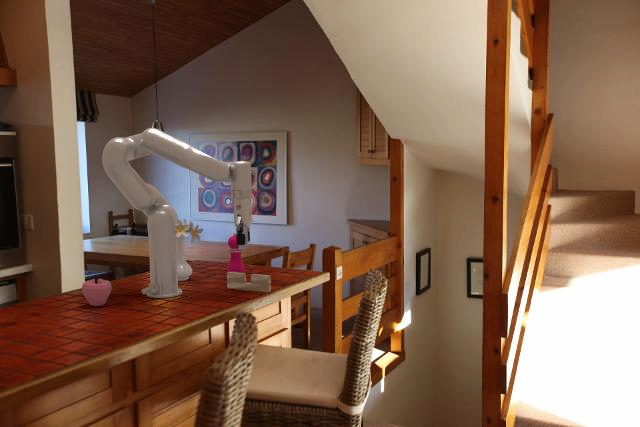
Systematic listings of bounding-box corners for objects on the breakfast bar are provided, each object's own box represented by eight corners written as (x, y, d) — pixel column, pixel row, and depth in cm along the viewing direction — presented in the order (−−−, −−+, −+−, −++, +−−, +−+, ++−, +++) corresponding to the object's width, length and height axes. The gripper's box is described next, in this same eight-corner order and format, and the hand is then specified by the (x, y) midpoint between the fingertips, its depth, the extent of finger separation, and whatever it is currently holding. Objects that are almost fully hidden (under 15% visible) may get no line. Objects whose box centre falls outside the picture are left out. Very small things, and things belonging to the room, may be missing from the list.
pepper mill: (247, 279, 239) (246, 230, 237) (242, 283, 232) (242, 233, 230) (229, 279, 240) (228, 230, 238) (225, 283, 232) (223, 232, 230)
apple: (117, 304, 199) (116, 275, 198) (96, 310, 192) (94, 280, 191) (98, 301, 204) (97, 272, 203) (77, 306, 197) (75, 277, 196)
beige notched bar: (268, 292, 215) (267, 276, 215) (227, 288, 223) (226, 272, 223) (270, 291, 217) (270, 275, 216) (230, 287, 225) (229, 271, 224)
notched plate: (238, 249, 213) (238, 227, 212) (243, 246, 219) (242, 225, 219) (244, 249, 212) (243, 227, 212) (248, 246, 219) (247, 225, 219)
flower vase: (194, 284, 231) (192, 220, 228) (154, 281, 237) (152, 219, 234) (210, 277, 243) (209, 217, 241) (172, 275, 249) (170, 216, 246)
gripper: (246, 196, 205) (248, 246, 207) (256, 193, 222) (258, 239, 224) (225, 197, 206) (227, 247, 208) (237, 193, 223) (238, 240, 225)
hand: (243, 242), depth 216 cm, fingers closed on notched plate, 7 cm apart
